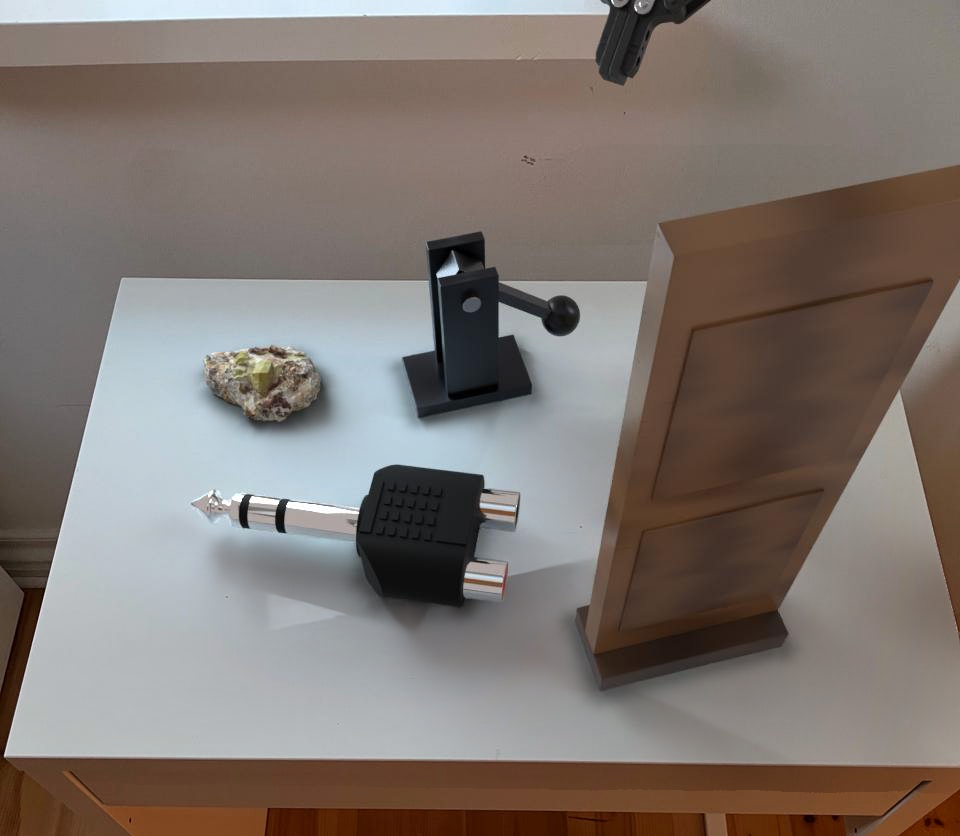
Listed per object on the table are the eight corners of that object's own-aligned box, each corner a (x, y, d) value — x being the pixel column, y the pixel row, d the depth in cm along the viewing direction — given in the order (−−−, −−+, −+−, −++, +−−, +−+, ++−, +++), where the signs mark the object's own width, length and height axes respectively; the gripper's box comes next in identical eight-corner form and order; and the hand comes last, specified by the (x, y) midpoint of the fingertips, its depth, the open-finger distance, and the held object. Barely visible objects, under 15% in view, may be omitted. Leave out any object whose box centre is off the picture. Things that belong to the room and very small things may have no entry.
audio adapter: (500, 588, 64) (156, 543, 66) (500, 625, 69) (179, 581, 71) (522, 464, 69) (202, 425, 71) (521, 506, 74) (220, 469, 76)
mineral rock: (336, 340, 79) (298, 388, 74) (341, 385, 82) (304, 434, 77) (222, 320, 81) (176, 365, 76) (230, 364, 84) (187, 411, 79)
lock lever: (557, 322, 79) (581, 293, 77) (568, 349, 77) (592, 320, 75) (431, 273, 71) (453, 240, 69) (441, 302, 70) (463, 269, 68)
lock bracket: (513, 344, 82) (515, 219, 70) (532, 394, 79) (537, 272, 68) (402, 366, 81) (387, 243, 69) (417, 418, 78) (404, 299, 67)
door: (750, 578, 70) (961, 128, 38) (782, 646, 68) (1036, 223, 36) (574, 620, 69) (640, 189, 37) (599, 691, 66) (693, 293, 34)
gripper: (823, -170, 59) (708, 123, 65) (633, -213, 62) (540, 70, 68) (820, -246, 52) (692, 90, 58) (606, -290, 55) (506, 32, 61)
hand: (610, 79), depth 63 cm, fingers closed
